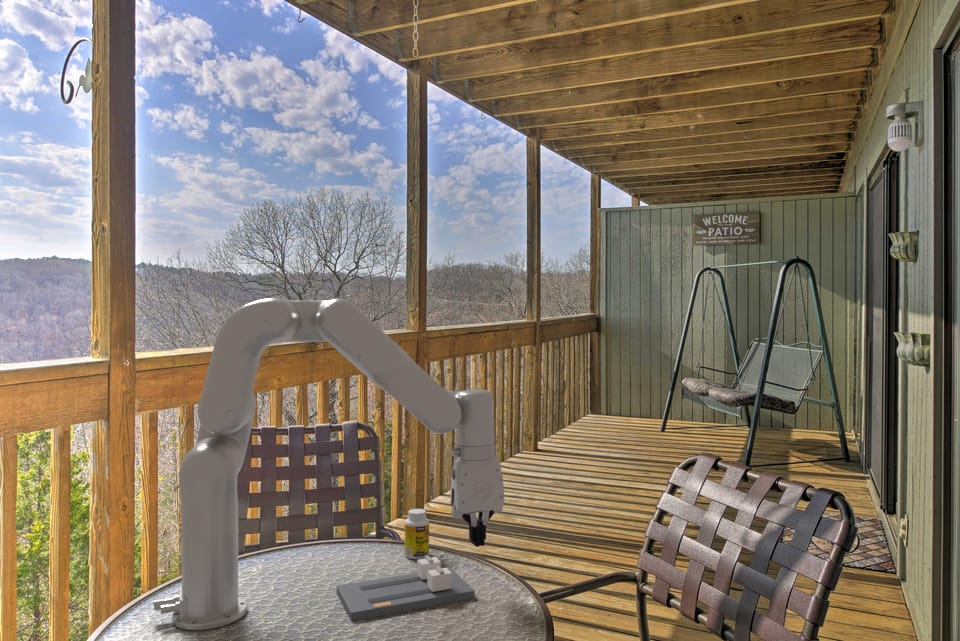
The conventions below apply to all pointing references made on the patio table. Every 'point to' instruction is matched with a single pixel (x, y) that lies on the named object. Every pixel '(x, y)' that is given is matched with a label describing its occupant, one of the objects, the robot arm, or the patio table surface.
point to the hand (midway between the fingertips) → (477, 544)
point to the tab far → (426, 566)
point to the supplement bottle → (416, 534)
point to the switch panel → (398, 595)
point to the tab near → (439, 579)
